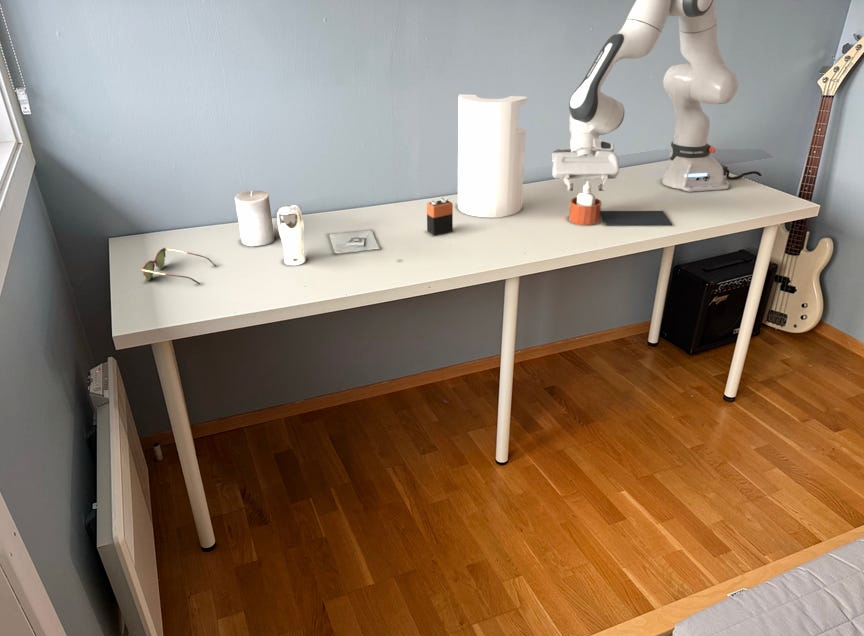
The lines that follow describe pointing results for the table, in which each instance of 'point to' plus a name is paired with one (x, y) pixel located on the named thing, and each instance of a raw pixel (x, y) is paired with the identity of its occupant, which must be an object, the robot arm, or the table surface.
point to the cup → (584, 212)
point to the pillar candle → (254, 218)
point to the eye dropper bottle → (586, 196)
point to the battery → (439, 217)
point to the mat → (635, 218)
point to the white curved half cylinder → (490, 156)
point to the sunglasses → (159, 263)
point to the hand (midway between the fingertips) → (586, 190)
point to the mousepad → (353, 241)
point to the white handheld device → (291, 233)
